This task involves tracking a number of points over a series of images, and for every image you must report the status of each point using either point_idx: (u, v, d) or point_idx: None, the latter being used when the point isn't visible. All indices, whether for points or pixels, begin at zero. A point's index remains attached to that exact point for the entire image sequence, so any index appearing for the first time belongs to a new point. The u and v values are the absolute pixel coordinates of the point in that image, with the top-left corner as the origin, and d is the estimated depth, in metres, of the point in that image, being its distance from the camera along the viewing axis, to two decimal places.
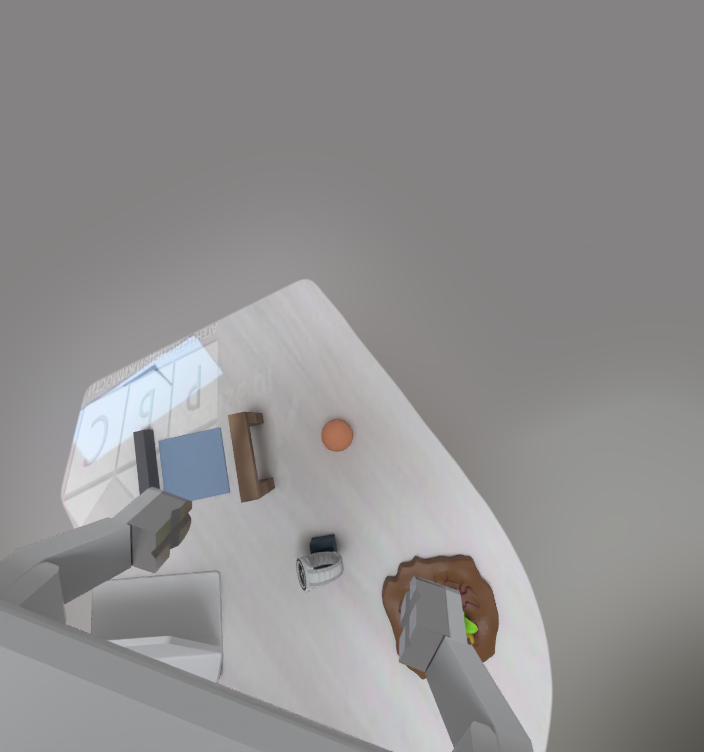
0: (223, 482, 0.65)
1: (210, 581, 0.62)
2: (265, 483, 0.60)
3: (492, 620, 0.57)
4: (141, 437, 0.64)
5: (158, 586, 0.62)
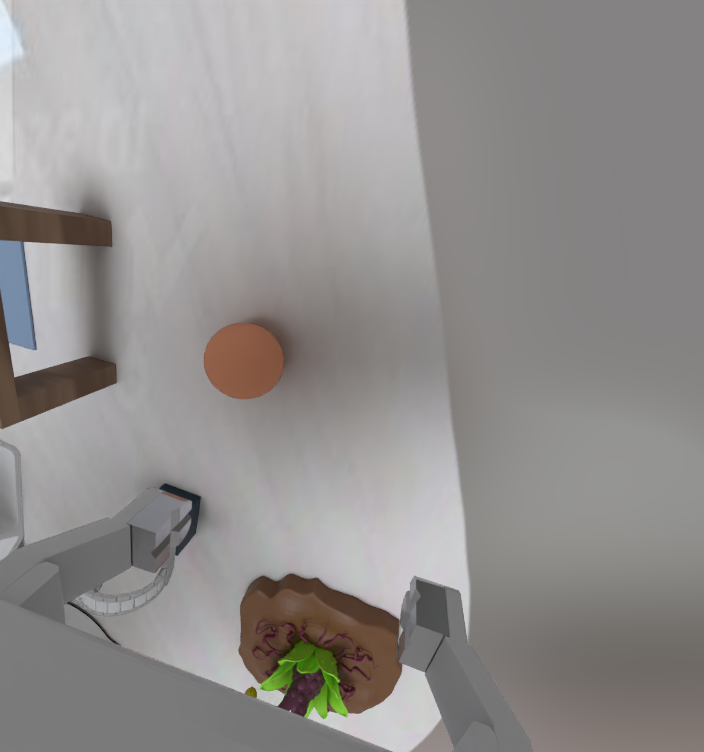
0: (23, 327, 0.32)
1: (2, 456, 0.38)
2: (65, 384, 0.27)
3: (378, 695, 0.38)
4: None
5: None
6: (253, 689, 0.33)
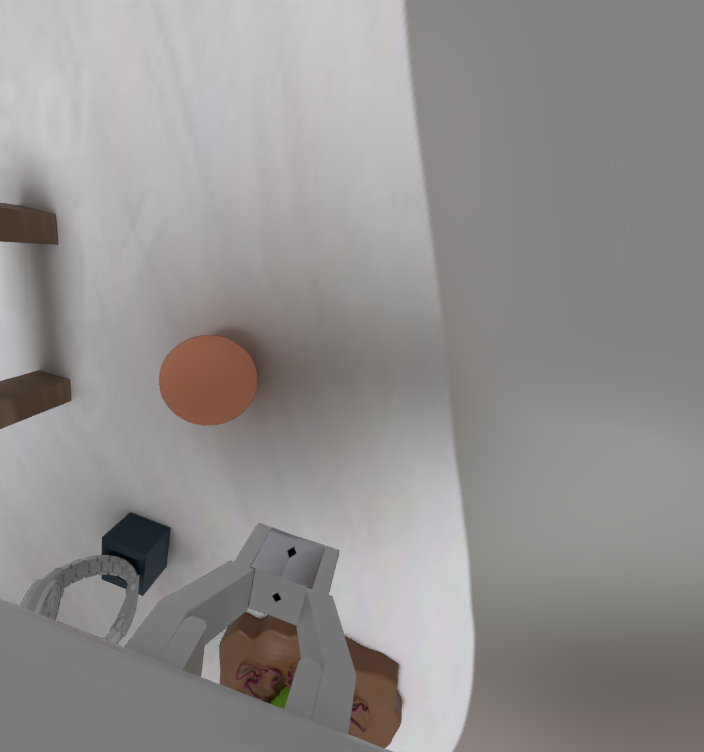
0: None
1: None
2: (1, 406, 0.23)
3: None
4: None
5: None
6: None
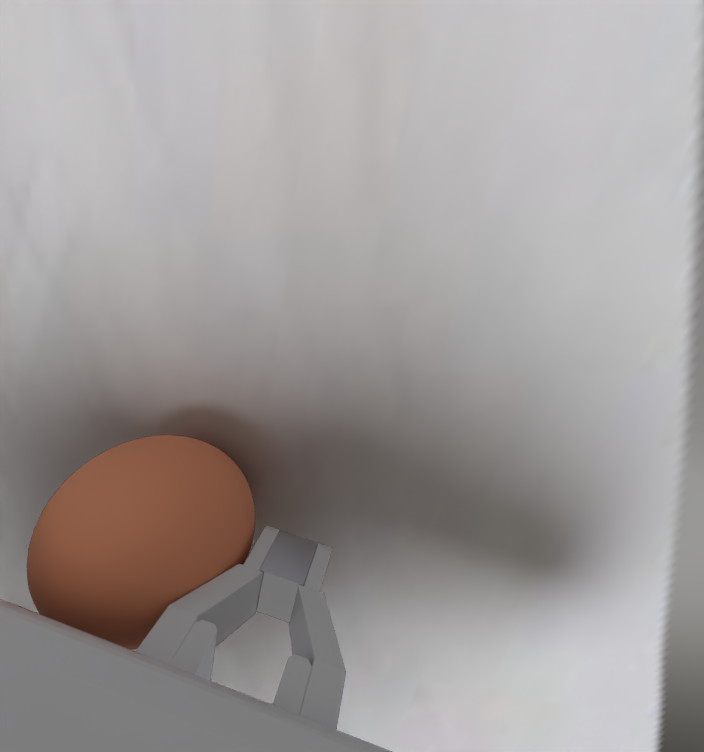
0: None
1: None
2: None
3: None
4: None
5: None
6: None
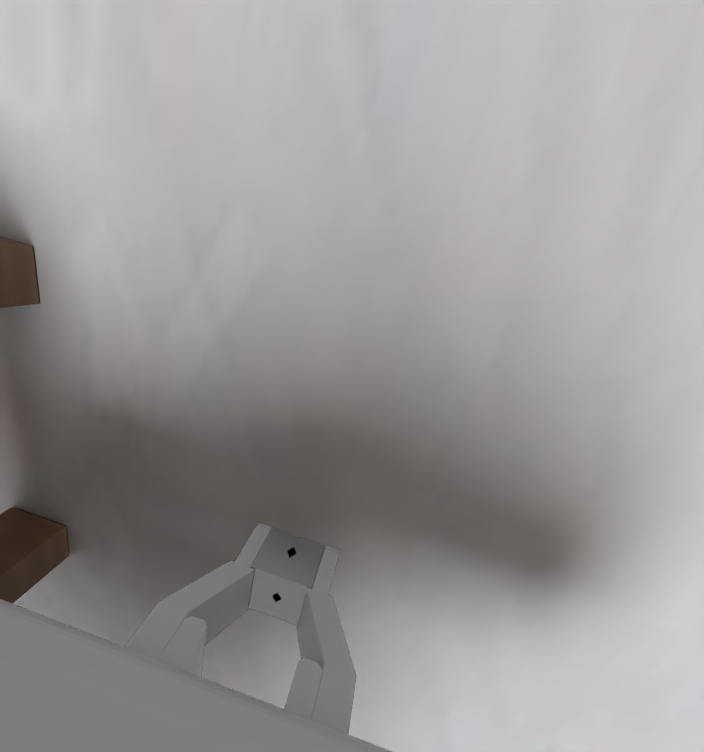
0: None
1: None
2: None
3: None
4: None
5: None
6: None
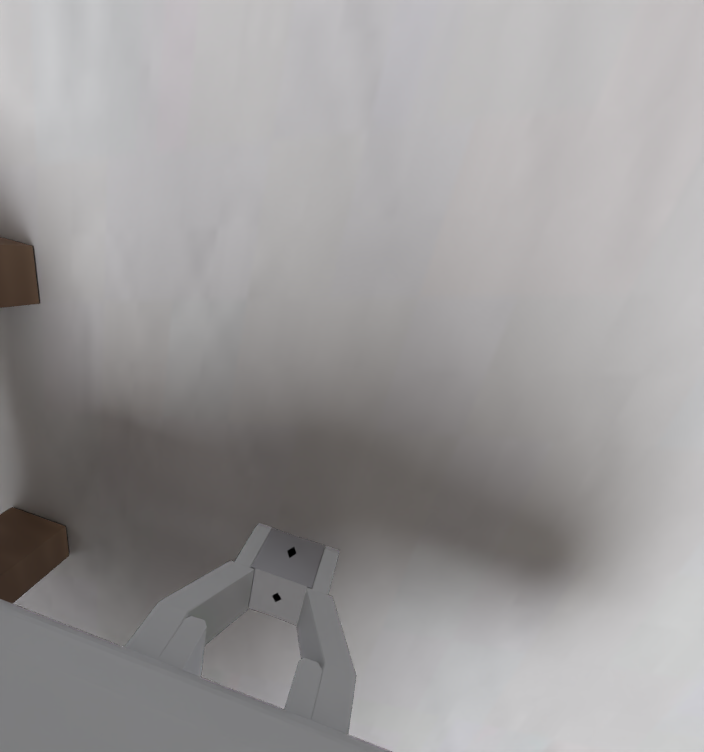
0: None
1: None
2: None
3: None
4: None
5: None
6: None
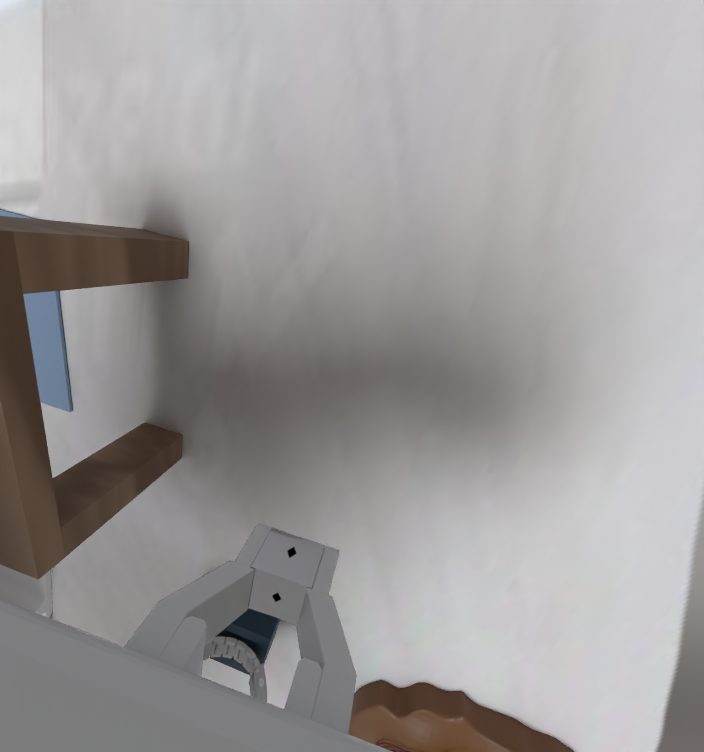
0: (56, 382, 0.23)
1: None
2: (123, 483, 0.19)
3: None
4: None
5: None
6: None
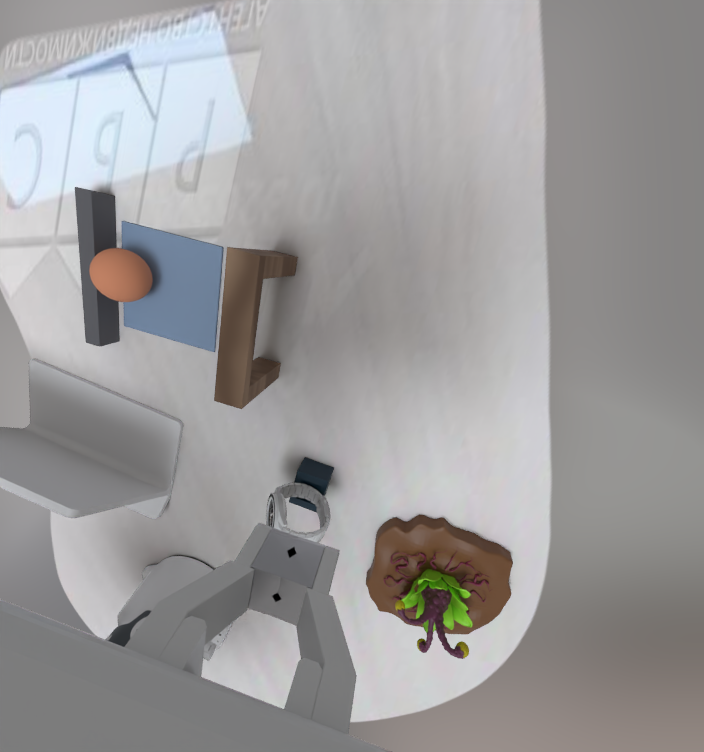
0: (208, 334, 0.42)
1: (169, 427, 0.47)
2: (263, 378, 0.37)
3: (488, 615, 0.46)
4: (88, 204, 0.36)
5: (107, 401, 0.48)
6: (402, 601, 0.41)
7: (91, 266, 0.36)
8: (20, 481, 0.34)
